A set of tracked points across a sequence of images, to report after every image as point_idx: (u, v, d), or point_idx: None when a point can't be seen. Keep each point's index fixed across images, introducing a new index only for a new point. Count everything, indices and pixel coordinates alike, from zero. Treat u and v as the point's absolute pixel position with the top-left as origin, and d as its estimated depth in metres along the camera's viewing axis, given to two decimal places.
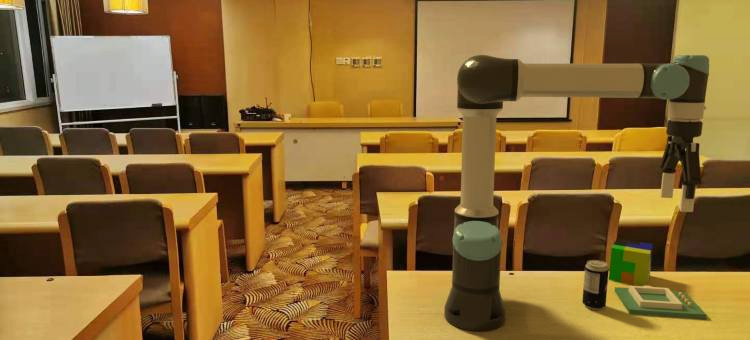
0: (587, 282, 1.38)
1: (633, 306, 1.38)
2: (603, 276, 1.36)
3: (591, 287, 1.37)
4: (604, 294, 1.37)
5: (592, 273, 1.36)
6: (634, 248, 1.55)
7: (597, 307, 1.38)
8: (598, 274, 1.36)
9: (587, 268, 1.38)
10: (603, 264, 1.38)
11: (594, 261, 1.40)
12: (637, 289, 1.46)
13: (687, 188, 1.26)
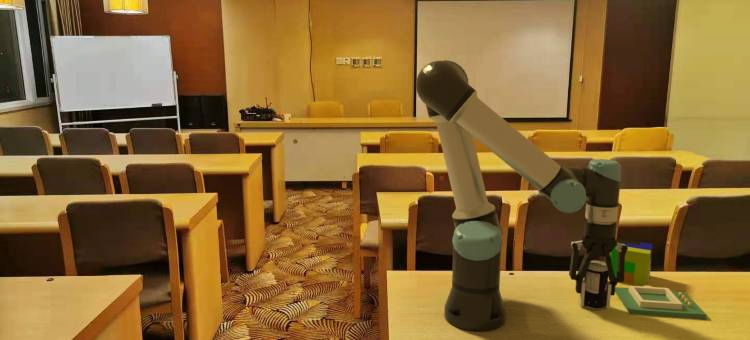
0: (587, 282, 1.38)
1: (633, 306, 1.38)
2: (603, 276, 1.36)
3: (591, 287, 1.37)
4: (604, 294, 1.37)
5: (592, 273, 1.36)
6: (634, 248, 1.55)
7: (597, 307, 1.38)
8: (598, 274, 1.36)
9: None
10: (603, 264, 1.38)
11: (594, 261, 1.40)
12: (637, 289, 1.46)
13: None
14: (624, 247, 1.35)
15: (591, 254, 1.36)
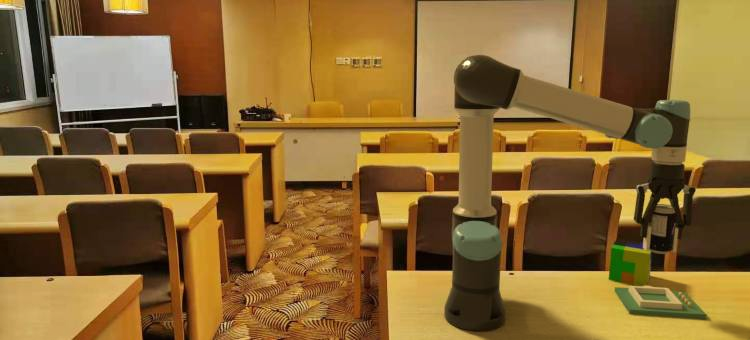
0: (653, 225, 1.36)
1: (633, 306, 1.38)
2: (670, 218, 1.34)
3: (658, 230, 1.35)
4: (671, 237, 1.35)
5: (659, 216, 1.35)
6: (634, 248, 1.55)
7: (664, 250, 1.36)
8: (665, 216, 1.34)
9: None
10: (669, 207, 1.36)
11: (659, 205, 1.38)
12: (637, 289, 1.46)
13: None
14: (692, 189, 1.33)
15: (658, 196, 1.35)
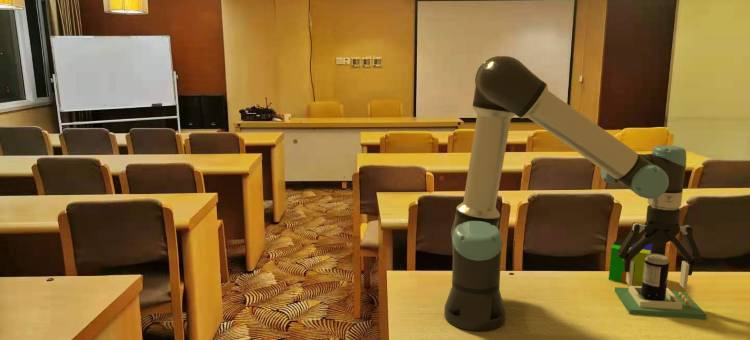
0: (647, 275, 1.39)
1: (633, 306, 1.38)
2: (664, 269, 1.37)
3: (652, 280, 1.38)
4: (664, 287, 1.38)
5: (653, 267, 1.38)
6: None
7: (657, 300, 1.39)
8: (659, 267, 1.37)
9: (647, 261, 1.39)
10: (663, 257, 1.39)
11: (653, 254, 1.41)
12: (637, 289, 1.46)
13: None
14: (688, 228, 1.35)
15: (651, 238, 1.37)
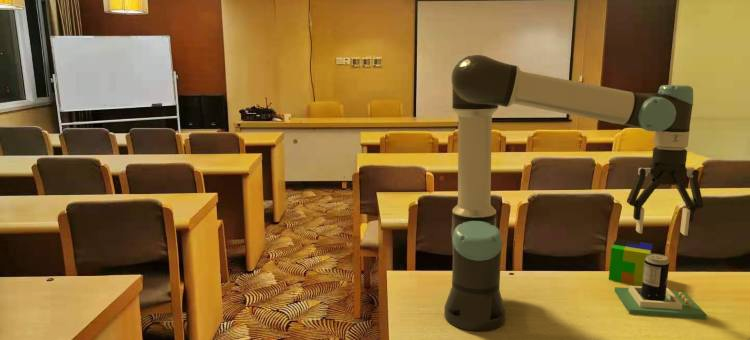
0: (647, 275, 1.39)
1: (633, 306, 1.38)
2: (664, 269, 1.37)
3: (652, 280, 1.38)
4: (664, 287, 1.38)
5: (653, 267, 1.38)
6: (634, 248, 1.55)
7: (657, 300, 1.39)
8: (659, 267, 1.37)
9: (647, 261, 1.39)
10: (663, 257, 1.39)
11: (653, 255, 1.41)
12: (637, 289, 1.46)
13: None
14: (695, 171, 1.33)
15: (658, 181, 1.34)
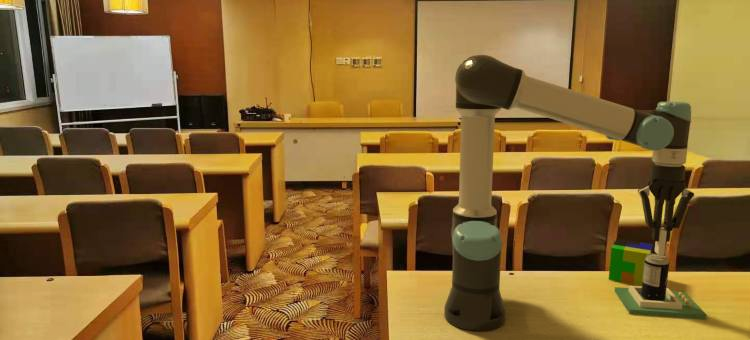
0: (647, 275, 1.39)
1: (633, 306, 1.38)
2: (664, 269, 1.37)
3: (652, 280, 1.38)
4: (664, 287, 1.38)
5: (653, 267, 1.38)
6: (634, 248, 1.55)
7: (657, 300, 1.39)
8: (659, 267, 1.37)
9: (647, 261, 1.39)
10: (663, 257, 1.39)
11: (653, 255, 1.41)
12: (637, 289, 1.46)
13: None
14: (691, 193, 1.34)
15: (661, 198, 1.35)
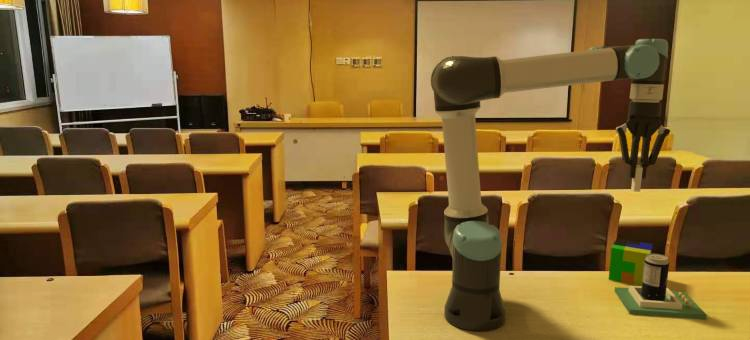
0: (647, 275, 1.39)
1: (633, 306, 1.38)
2: (664, 269, 1.37)
3: (652, 280, 1.38)
4: (664, 287, 1.38)
5: (653, 267, 1.38)
6: (634, 248, 1.55)
7: (657, 300, 1.39)
8: (659, 267, 1.37)
9: (647, 261, 1.39)
10: (663, 257, 1.39)
11: (653, 255, 1.41)
12: (637, 289, 1.46)
13: None
14: (667, 130, 1.36)
15: (638, 135, 1.37)
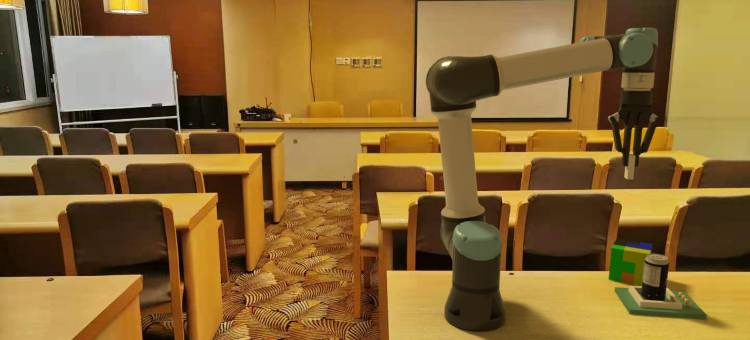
0: (647, 275, 1.39)
1: (633, 306, 1.38)
2: (664, 269, 1.37)
3: (652, 280, 1.38)
4: (664, 287, 1.38)
5: (653, 267, 1.38)
6: (634, 248, 1.55)
7: (657, 300, 1.39)
8: (659, 267, 1.37)
9: (647, 261, 1.39)
10: (663, 257, 1.39)
11: (653, 255, 1.41)
12: (637, 289, 1.46)
13: None
14: (658, 118, 1.38)
15: (630, 123, 1.39)
